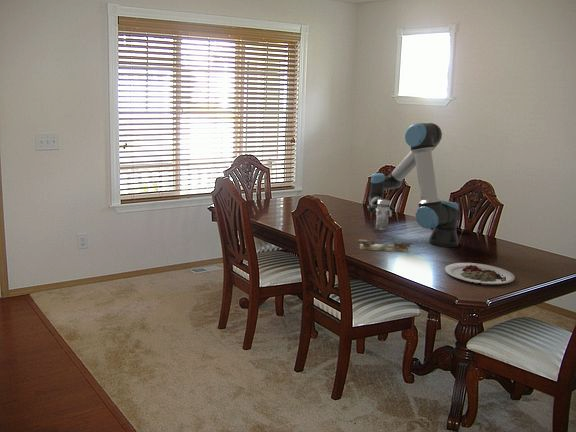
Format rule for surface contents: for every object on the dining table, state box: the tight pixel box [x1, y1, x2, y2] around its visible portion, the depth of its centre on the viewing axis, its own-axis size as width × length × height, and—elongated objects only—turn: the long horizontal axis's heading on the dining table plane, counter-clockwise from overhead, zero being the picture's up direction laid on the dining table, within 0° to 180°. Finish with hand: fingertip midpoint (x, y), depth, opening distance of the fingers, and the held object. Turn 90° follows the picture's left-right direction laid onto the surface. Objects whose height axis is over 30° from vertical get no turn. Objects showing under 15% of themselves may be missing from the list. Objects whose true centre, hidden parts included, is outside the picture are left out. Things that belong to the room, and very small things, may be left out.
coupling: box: [375, 198, 391, 231], centre depth 316 cm, size 6×6×15 cm
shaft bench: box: [358, 239, 411, 253], centre depth 313 cm, size 26×8×4 cm, turn 85°
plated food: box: [444, 262, 516, 285], centre depth 274 cm, size 30×30×3 cm
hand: (384, 213), depth 311 cm, fingers closed on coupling, 6 cm apart
